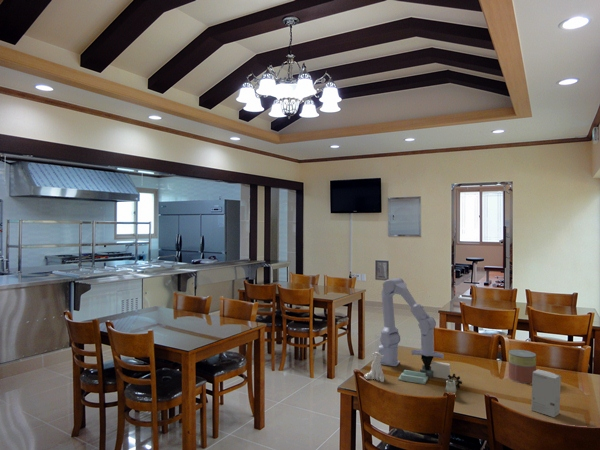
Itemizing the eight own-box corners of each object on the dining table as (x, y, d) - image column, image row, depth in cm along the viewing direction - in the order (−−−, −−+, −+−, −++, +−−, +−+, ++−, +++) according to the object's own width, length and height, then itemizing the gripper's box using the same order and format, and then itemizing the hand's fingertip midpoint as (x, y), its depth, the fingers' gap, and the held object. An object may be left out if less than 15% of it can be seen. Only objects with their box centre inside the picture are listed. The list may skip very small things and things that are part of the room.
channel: (419, 375, 194) (419, 369, 194) (422, 371, 200) (422, 364, 200) (433, 378, 191) (433, 371, 191) (435, 373, 197) (435, 366, 197)
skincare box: (531, 410, 157) (530, 371, 157) (537, 406, 161) (537, 368, 161) (555, 418, 150) (555, 377, 150) (561, 413, 154) (561, 374, 154)
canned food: (535, 376, 192) (534, 351, 192) (537, 385, 182) (537, 358, 182) (508, 373, 197) (507, 348, 197) (509, 381, 186) (508, 355, 186)
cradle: (398, 379, 189) (398, 374, 189) (402, 374, 196) (402, 369, 196) (425, 384, 183) (425, 378, 183) (428, 378, 191) (428, 373, 191)
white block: (431, 376, 193) (431, 363, 193) (432, 373, 196) (432, 361, 196) (449, 379, 189) (449, 366, 189) (450, 376, 193) (450, 363, 193)
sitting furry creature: (363, 379, 190) (363, 353, 190) (368, 373, 198) (368, 348, 198) (383, 382, 186) (383, 356, 186) (388, 376, 193) (387, 351, 194)
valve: (458, 400, 167) (462, 390, 177) (458, 384, 167) (462, 374, 177) (441, 397, 170) (446, 387, 180) (441, 381, 170) (446, 372, 180)
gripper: (410, 343, 195) (410, 371, 195) (442, 347, 189) (442, 376, 189) (413, 339, 202) (413, 367, 202) (444, 343, 195) (444, 371, 195)
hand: (427, 371), depth 196 cm, fingers closed
